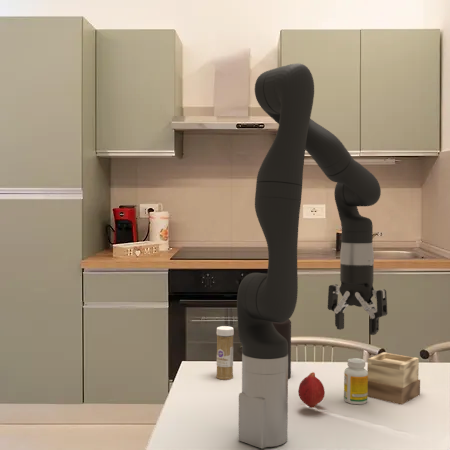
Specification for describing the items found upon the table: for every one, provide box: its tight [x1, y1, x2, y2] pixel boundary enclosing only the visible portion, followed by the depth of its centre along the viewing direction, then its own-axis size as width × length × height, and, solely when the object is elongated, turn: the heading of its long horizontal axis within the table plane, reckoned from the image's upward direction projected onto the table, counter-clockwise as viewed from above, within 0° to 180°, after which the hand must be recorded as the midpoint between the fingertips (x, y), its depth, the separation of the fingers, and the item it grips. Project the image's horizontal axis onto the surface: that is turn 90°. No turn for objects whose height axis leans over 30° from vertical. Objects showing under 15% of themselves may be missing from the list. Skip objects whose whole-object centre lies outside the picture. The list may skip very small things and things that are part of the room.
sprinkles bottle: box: [215, 325, 235, 381], centre depth 155 cm, size 5×5×13 cm
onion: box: [298, 371, 326, 409], centre depth 132 cm, size 6×6×8 cm
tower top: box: [366, 351, 420, 388], centre depth 141 cm, size 9×9×5 cm
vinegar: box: [272, 318, 292, 380], centre depth 155 cm, size 7×7×20 cm
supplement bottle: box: [343, 357, 368, 405], centre depth 136 cm, size 5×5×10 cm
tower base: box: [367, 378, 421, 405], centre depth 141 cm, size 10×10×4 cm
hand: (356, 331), depth 136 cm, fingers open, 8 cm apart
